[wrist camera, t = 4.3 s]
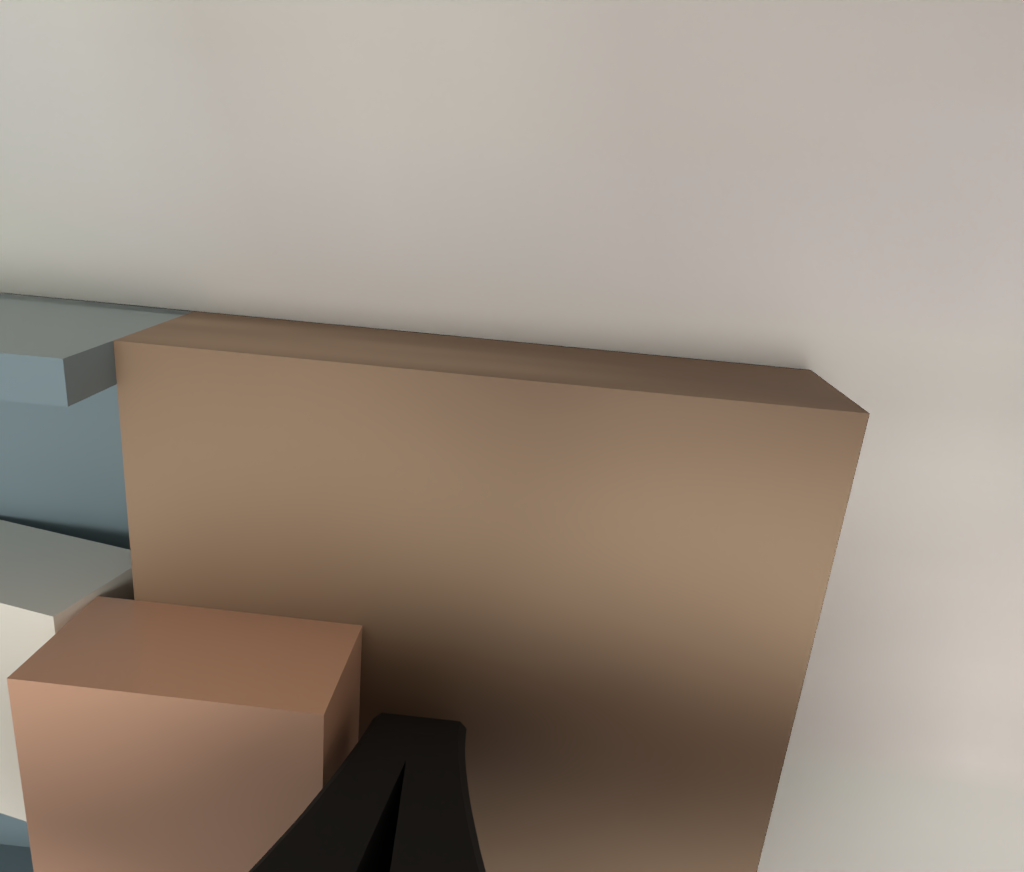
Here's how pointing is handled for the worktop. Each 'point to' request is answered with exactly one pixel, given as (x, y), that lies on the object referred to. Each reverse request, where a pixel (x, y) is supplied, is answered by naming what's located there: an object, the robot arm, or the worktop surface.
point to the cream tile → (44, 613)
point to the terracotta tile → (179, 734)
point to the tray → (62, 436)
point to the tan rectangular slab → (514, 556)
